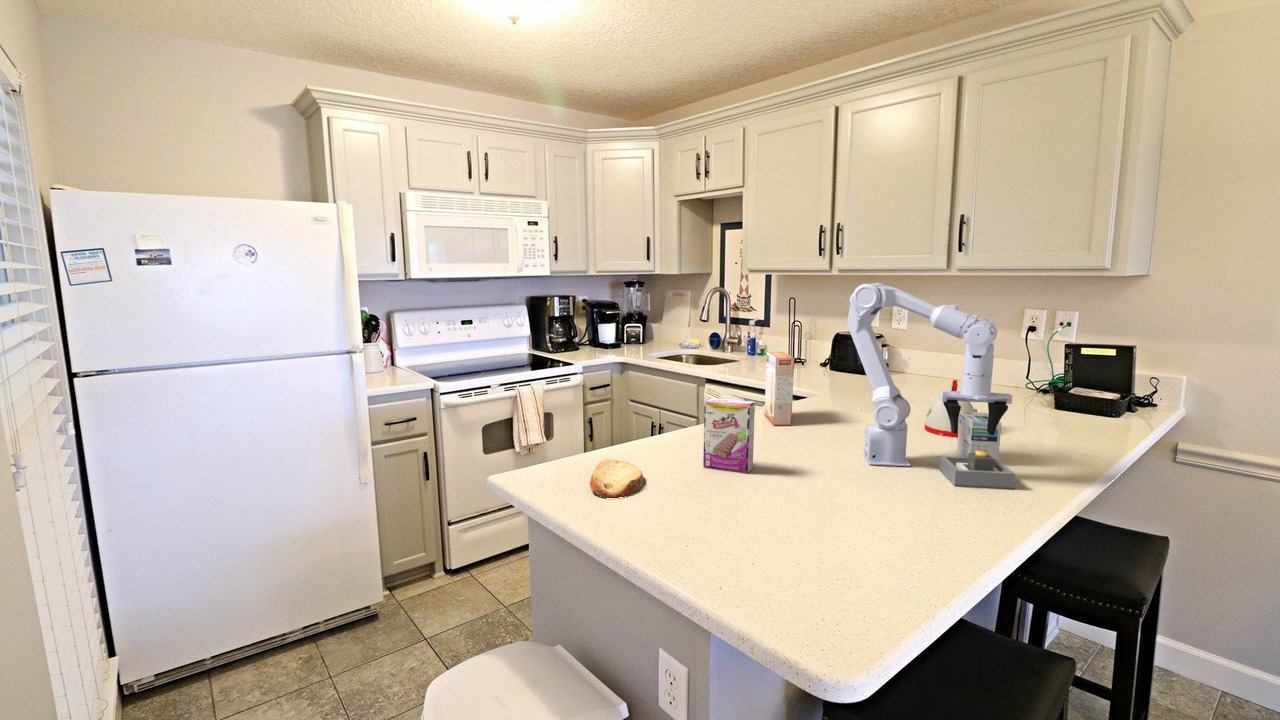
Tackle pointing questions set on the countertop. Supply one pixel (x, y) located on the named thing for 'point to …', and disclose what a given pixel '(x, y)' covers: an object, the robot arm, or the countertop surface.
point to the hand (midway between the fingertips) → (972, 433)
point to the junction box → (976, 474)
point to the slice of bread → (615, 479)
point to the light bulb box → (977, 435)
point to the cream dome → (944, 416)
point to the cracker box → (779, 388)
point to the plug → (980, 461)
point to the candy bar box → (728, 434)
